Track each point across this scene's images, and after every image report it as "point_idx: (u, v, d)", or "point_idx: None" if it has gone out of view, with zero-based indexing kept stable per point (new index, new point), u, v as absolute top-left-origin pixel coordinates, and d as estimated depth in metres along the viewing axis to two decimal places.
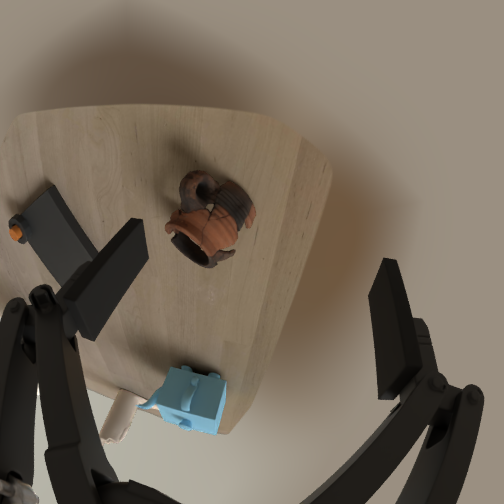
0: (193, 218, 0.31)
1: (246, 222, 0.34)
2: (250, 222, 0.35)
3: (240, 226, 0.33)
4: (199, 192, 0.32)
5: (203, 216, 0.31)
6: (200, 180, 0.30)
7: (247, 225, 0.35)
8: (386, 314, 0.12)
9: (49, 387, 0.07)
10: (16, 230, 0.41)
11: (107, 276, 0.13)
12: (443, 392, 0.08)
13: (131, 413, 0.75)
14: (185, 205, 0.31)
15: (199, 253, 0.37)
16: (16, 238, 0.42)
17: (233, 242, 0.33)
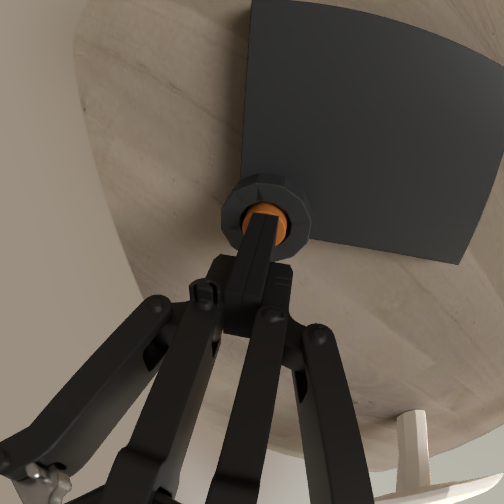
0: None
1: None
2: None
3: None
4: None
5: None
6: None
7: None
8: None
9: (165, 390, 0.08)
10: (263, 207, 0.17)
11: None
12: (284, 319, 0.11)
13: None
14: None
15: None
16: (279, 227, 0.18)
17: None
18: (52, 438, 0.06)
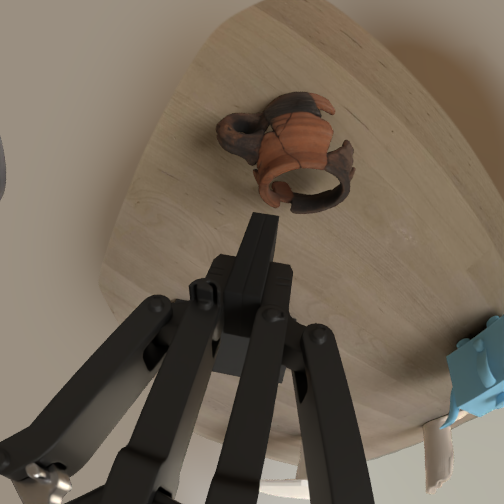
0: (266, 154, 0.22)
1: (323, 108, 0.22)
2: (327, 105, 0.22)
3: (317, 111, 0.21)
4: None
5: (271, 140, 0.21)
6: (230, 120, 0.22)
7: (328, 110, 0.22)
8: None
9: (165, 390, 0.08)
10: None
11: None
12: (284, 319, 0.11)
13: (447, 438, 0.49)
14: (247, 155, 0.22)
15: (331, 192, 0.25)
16: None
17: (329, 130, 0.20)
18: (52, 438, 0.06)
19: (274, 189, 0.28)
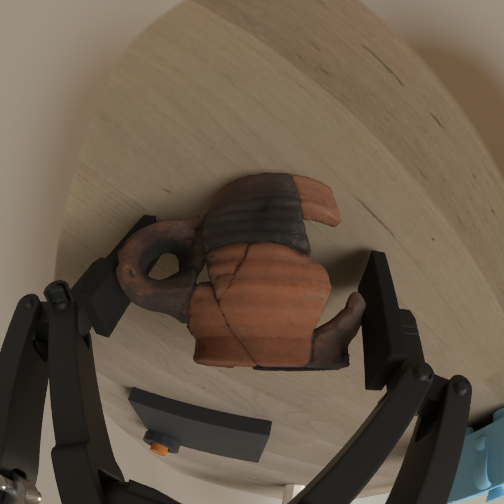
0: (200, 324, 0.12)
1: (317, 218, 0.12)
2: (325, 209, 0.12)
3: (302, 240, 0.11)
4: (181, 265, 0.14)
5: (205, 305, 0.11)
6: (136, 250, 0.12)
7: (328, 220, 0.12)
8: (373, 305, 0.13)
9: (60, 384, 0.08)
10: (155, 447, 0.36)
11: None
12: (429, 381, 0.09)
13: None
14: (171, 314, 0.13)
15: None
16: (163, 454, 0.36)
17: (324, 288, 0.11)
18: None
19: None
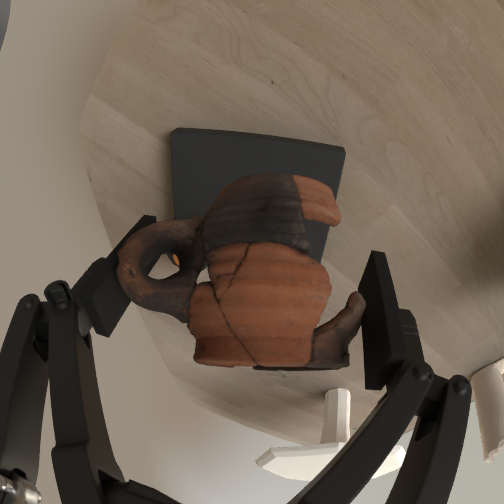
0: (201, 324, 0.12)
1: (317, 217, 0.12)
2: (326, 208, 0.12)
3: (302, 240, 0.11)
4: (181, 265, 0.14)
5: (206, 305, 0.11)
6: (137, 250, 0.12)
7: (328, 220, 0.12)
8: (373, 305, 0.13)
9: (60, 384, 0.08)
10: None
11: None
12: (429, 381, 0.09)
13: (502, 389, 0.37)
14: (171, 313, 0.13)
15: None
16: None
17: (324, 287, 0.11)
18: None
19: None
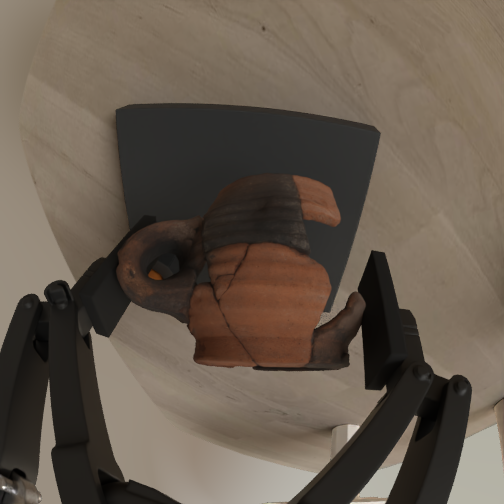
0: (200, 324, 0.12)
1: (317, 218, 0.12)
2: (325, 209, 0.12)
3: (302, 241, 0.11)
4: (181, 265, 0.14)
5: (205, 305, 0.11)
6: (137, 250, 0.12)
7: (328, 220, 0.12)
8: (373, 305, 0.13)
9: (60, 384, 0.08)
10: None
11: None
12: (429, 381, 0.09)
13: None
14: (171, 314, 0.13)
15: None
16: None
17: (324, 288, 0.11)
18: None
19: None
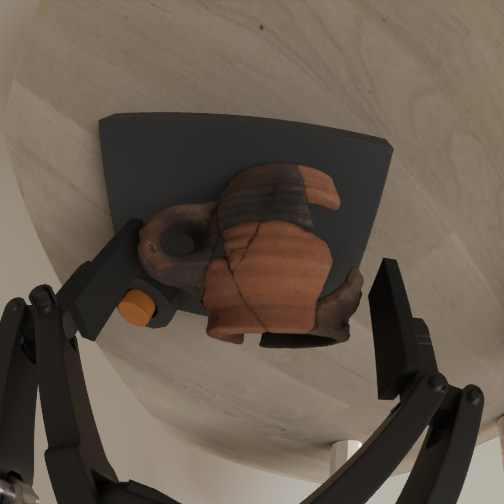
0: (215, 295, 0.13)
1: (319, 201, 0.14)
2: (327, 194, 0.14)
3: (306, 219, 0.12)
4: (196, 244, 0.15)
5: (220, 277, 0.13)
6: (157, 229, 0.13)
7: (329, 204, 0.14)
8: (386, 314, 0.12)
9: (49, 387, 0.07)
10: (129, 298, 0.21)
11: (107, 276, 0.13)
12: (443, 392, 0.08)
13: None
14: (187, 288, 0.14)
15: None
16: (142, 314, 0.21)
17: (326, 260, 0.12)
18: None
19: None
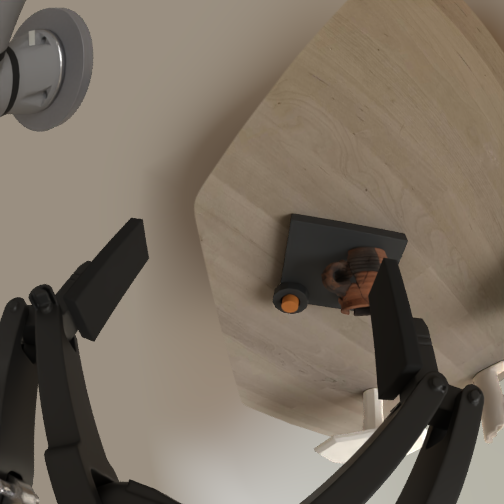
0: (351, 295, 0.38)
1: None
2: None
3: None
4: (339, 277, 0.40)
5: (355, 289, 0.37)
6: (332, 273, 0.38)
7: None
8: (386, 314, 0.12)
9: (49, 387, 0.07)
10: (289, 299, 0.45)
11: (107, 276, 0.13)
12: (443, 392, 0.08)
13: (498, 386, 0.50)
14: (339, 293, 0.39)
15: None
16: (295, 306, 0.45)
17: None
18: None
19: None
